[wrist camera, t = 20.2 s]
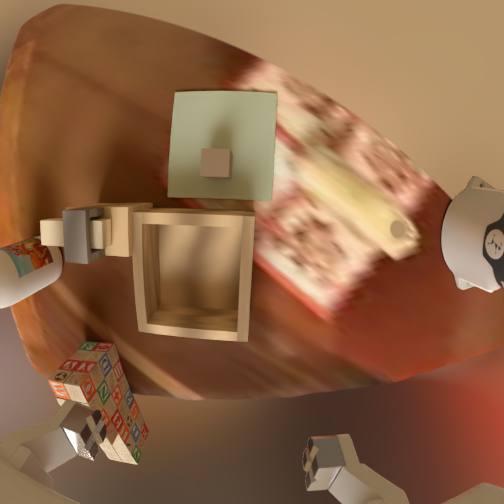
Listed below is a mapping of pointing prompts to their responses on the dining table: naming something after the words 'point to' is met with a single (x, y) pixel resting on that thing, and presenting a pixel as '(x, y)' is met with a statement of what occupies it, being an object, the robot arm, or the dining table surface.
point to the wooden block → (54, 237)
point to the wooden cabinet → (176, 264)
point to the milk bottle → (27, 269)
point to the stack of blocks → (104, 397)
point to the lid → (222, 145)
